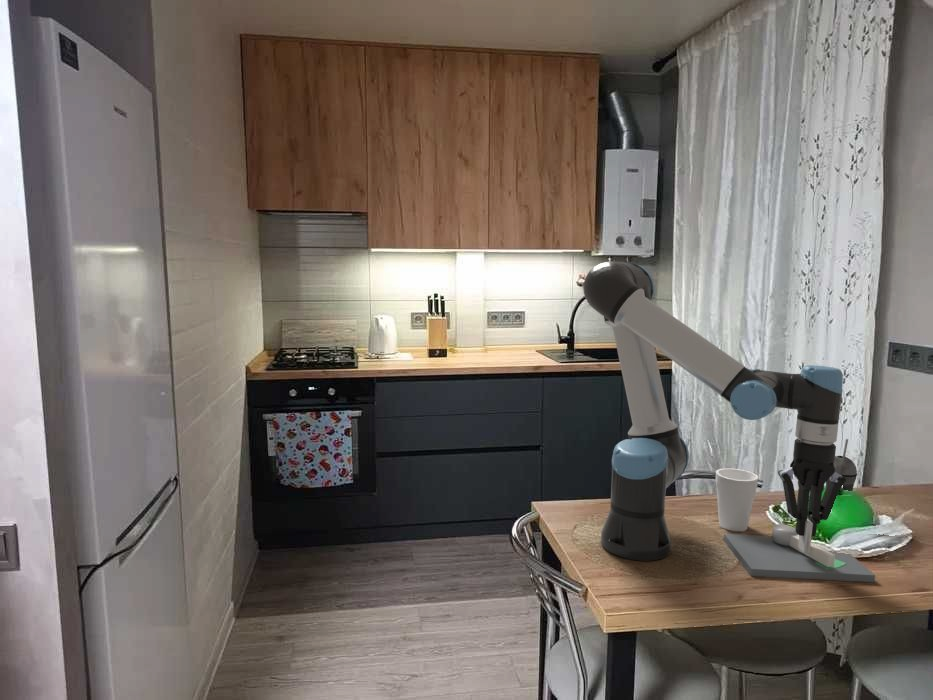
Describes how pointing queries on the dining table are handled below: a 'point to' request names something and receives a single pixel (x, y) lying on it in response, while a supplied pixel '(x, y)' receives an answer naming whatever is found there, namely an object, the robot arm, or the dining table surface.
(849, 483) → the beverage cup
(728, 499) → the foam cup
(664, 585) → the dining table surface
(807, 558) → the board
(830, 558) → the white knobbed bar
